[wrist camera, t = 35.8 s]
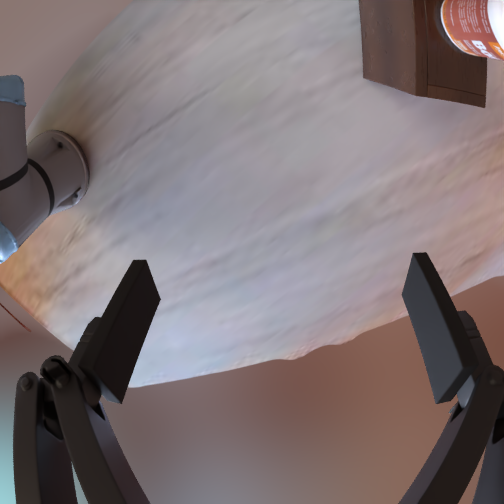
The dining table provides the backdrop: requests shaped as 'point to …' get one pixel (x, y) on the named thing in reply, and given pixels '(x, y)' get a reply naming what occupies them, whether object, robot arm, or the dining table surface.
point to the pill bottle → (475, 26)
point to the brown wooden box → (418, 52)
